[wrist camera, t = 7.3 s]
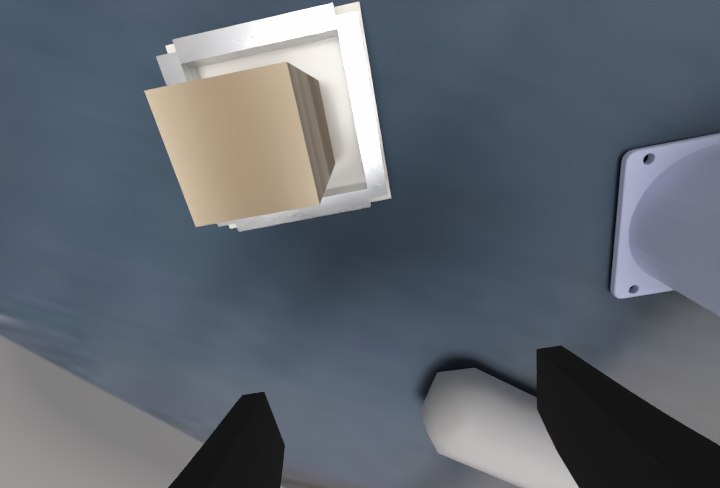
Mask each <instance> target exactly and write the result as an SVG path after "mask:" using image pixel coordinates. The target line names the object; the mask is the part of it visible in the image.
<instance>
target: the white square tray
mask: <svg viewBox="0 0 720 488" xmlns="http://www.w3.org/2000/svg"><path fill="white" fill-rule="evenodd" d="M338 36H339V39H340V45H341V50H342V55H343V60H344V66H345V71H346V76H347V82H348V87H349V92H350V98H351V103H352V108H353V114H354V119H355V124H356V130H357V135H358V140H359V146H360V151H361V156H362V162H363V167H364V172H365V178H366V182H363V183H357V184H352V185H347V186H342V187H337V188H332V189H326V190H325V192H324V195H323V198H322V200H321V203H320V205H317V206H311V207H306V208H300V209H294V210H289V211H283V212H278V213H272V214H266V215H261V216H255V217H249V218H244V219H238V220H233V221H227V222H221V223H217V224H218V227H220V226H225V225H230V224H235V223H236V226H237V229H238V232H240V231H245V230H251V229H256V228H261V227H267V226H272V225H277V224H283V223H288V222H293V221H299V220H304V219H309V218H314V217H320V216H325V215H330V214H336V213H341V212H346V211H352V210H357V209H362V208H368V207H371V203H370V198H372V197H377V196H383V195H388V193H387V187H386V181H385V175H384V169H383V163H382V157H381V151H380V145H379V139H378V133H377V127H376V121H375V115H374V109H373V103H372V98H371V92H370V86H369V80H368V74H367V68H366V62H365V56H364V50H363V44H362V38H361V32H360V26H359V20H358V14H357V11H355V12H350V13H346V14H341V15H337V16H336V15H335V10H334V6H333V3H330V4H326V5H321V6H317V7H312V8H308V9H304V10H299V11H295V12H291V13H286V14H282V15H278V16H273V17H269V18H265V19H260V20H256V21H251V22H247V23H243V24H238V25H234V26H230V27H225V28H221V29H217V30H212V31H208V32H203V33H199V34H195V35H190V36H186V37H182V38H177V39H173V40H172V41H173V43H174V46H175V49H176V52H174V53H169V54H165V55H160V56H156V58H157V61H158V63H159V66H160V69H161V72H162V74H163V77H164V80H165V82H166V85H167V86H170V85H175V84H180V83H184V82H189V81H194V80H199V79H201V76H200V73H199V70H198V67H203V66H207V65H212V64H216V63H221V62H225V61H230V60H234V59H239V58H243V57H248V56H252V55H257V54H261V53H266V52H270V51H275V50H279V49H284V48H288V47H293V46H297V45H302V44H306V43H311V42H315V41H320V40H324V39H329V38H333V37H338Z"/></svg>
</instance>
